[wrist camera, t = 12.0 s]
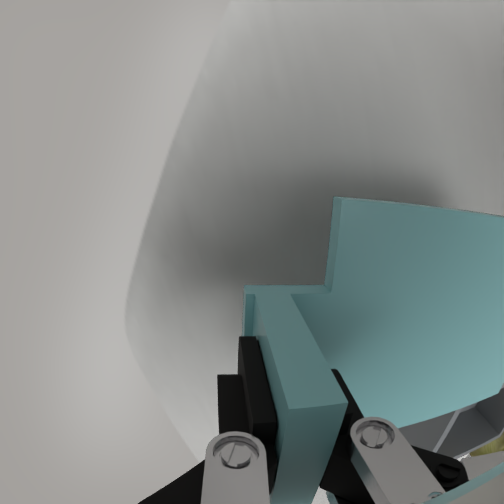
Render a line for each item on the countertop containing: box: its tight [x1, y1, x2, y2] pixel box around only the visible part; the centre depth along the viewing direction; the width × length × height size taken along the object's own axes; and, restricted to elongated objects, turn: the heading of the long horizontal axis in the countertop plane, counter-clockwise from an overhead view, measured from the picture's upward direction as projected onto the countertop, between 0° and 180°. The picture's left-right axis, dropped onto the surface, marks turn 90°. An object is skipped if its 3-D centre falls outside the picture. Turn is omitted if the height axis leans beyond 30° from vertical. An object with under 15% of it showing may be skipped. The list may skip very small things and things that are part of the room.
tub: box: [398, 383, 504, 459], centre depth 25 cm, size 14×11×7 cm
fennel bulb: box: [470, 432, 504, 457], centre depth 27 cm, size 6×5×12 cm
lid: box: [242, 196, 504, 504], centre depth 10 cm, size 18×12×7 cm, turn 88°
